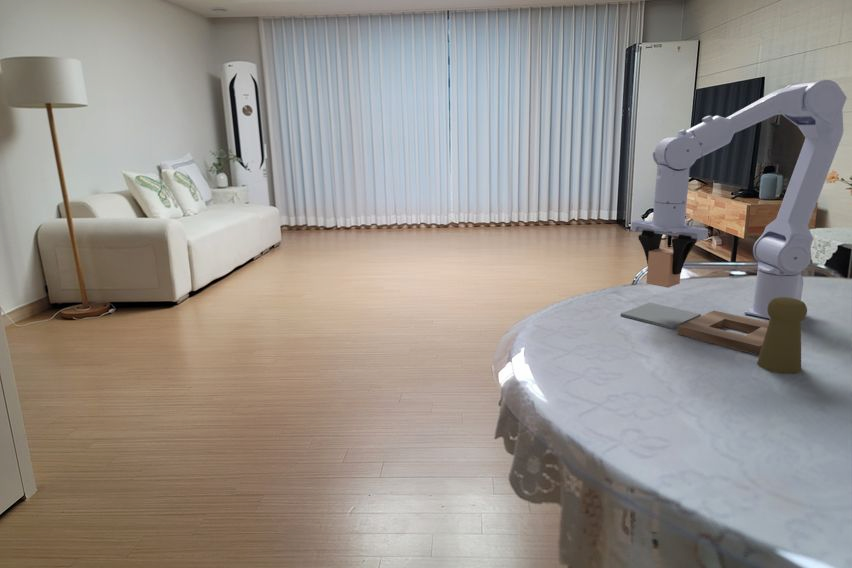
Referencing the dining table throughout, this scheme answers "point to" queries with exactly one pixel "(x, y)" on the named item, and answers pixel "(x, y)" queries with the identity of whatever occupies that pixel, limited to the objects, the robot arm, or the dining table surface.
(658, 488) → the dining table surface
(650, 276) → the block
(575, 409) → the dining table surface
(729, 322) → the holder
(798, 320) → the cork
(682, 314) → the mat
